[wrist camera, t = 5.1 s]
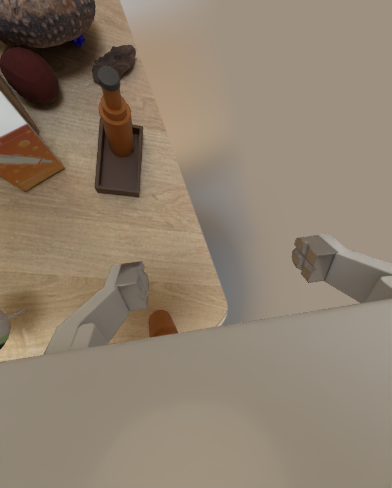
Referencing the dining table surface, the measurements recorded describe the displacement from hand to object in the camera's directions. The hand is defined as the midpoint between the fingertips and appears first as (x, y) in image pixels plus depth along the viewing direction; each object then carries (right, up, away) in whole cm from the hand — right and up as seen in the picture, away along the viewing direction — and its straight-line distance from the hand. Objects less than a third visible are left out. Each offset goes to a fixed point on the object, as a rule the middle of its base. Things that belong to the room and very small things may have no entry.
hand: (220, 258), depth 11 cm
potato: (-30, +29, +27) cm, 50 cm away
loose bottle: (-9, -15, +30) cm, 34 cm away
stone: (-20, +39, +29) cm, 53 cm away
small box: (-31, +15, +26) cm, 43 cm away
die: (-25, +41, +29) cm, 56 cm away
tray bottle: (-16, +21, +29) cm, 39 cm away
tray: (-17, +17, +30) cm, 38 cm away
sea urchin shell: (-27, +38, +26) cm, 53 cm away
